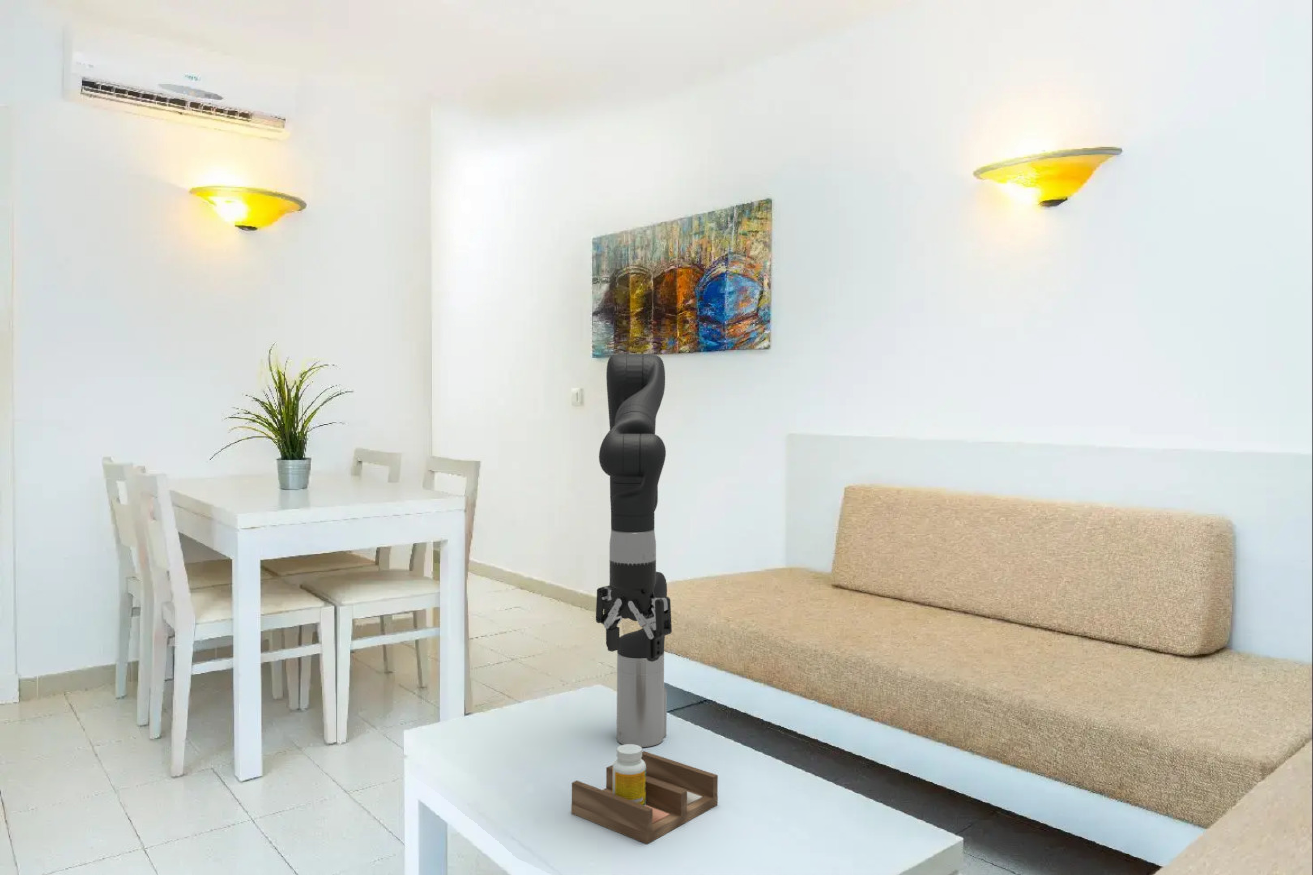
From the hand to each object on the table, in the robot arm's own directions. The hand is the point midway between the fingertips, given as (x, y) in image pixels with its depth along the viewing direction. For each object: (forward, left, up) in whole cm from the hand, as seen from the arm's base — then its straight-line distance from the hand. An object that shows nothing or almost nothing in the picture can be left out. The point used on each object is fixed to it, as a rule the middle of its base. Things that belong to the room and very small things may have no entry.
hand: (632, 655), depth 153 cm
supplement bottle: (+3, +2, -24) cm, 24 cm away
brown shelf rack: (-1, +2, -25) cm, 25 cm away
